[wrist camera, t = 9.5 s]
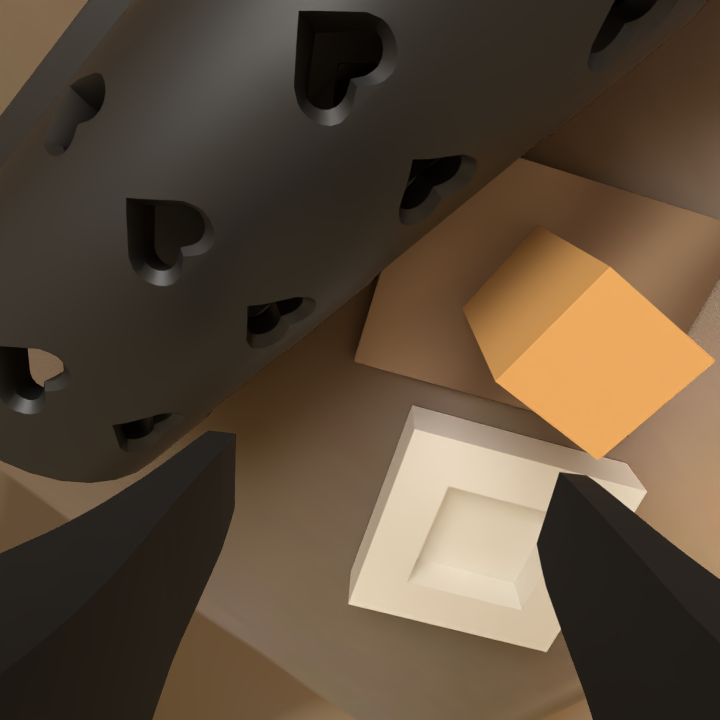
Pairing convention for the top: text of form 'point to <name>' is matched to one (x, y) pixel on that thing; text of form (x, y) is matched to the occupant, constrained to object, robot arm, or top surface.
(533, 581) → the socket block
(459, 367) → the pad
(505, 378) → the plug
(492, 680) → the top surface
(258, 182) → the muzzle brake
